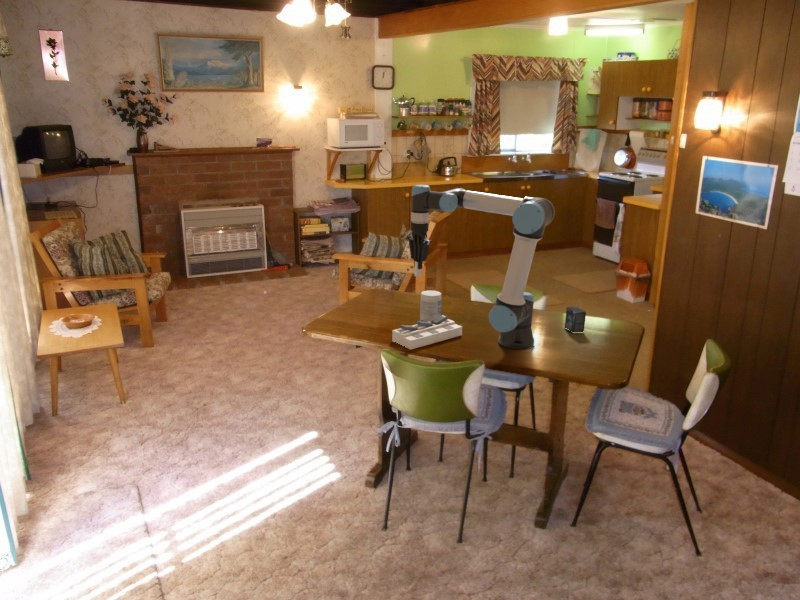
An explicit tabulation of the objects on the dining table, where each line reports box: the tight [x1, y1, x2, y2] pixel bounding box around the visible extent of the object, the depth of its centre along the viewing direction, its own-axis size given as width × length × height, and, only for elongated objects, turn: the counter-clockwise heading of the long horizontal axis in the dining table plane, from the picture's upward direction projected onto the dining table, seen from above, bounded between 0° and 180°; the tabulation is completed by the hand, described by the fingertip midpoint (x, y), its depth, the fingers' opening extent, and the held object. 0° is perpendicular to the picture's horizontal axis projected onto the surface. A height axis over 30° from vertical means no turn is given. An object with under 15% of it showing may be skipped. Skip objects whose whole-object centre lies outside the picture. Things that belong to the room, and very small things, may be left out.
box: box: [564, 306, 587, 332], centre depth 314 cm, size 8×6×11 cm
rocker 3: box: [431, 314, 449, 325], centre depth 307 cm, size 3×7×2 cm, turn 130°
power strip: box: [391, 318, 464, 350], centre depth 302 cm, size 12×36×5 cm, turn 130°
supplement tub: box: [419, 290, 442, 322], centre depth 318 cm, size 10×10×15 cm
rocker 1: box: [399, 324, 417, 331], centre depth 295 cm, size 3×7×2 cm, turn 130°
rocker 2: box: [415, 320, 433, 327], centre depth 301 cm, size 3×7×2 cm, turn 130°
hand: (417, 275), depth 299 cm, fingers closed
